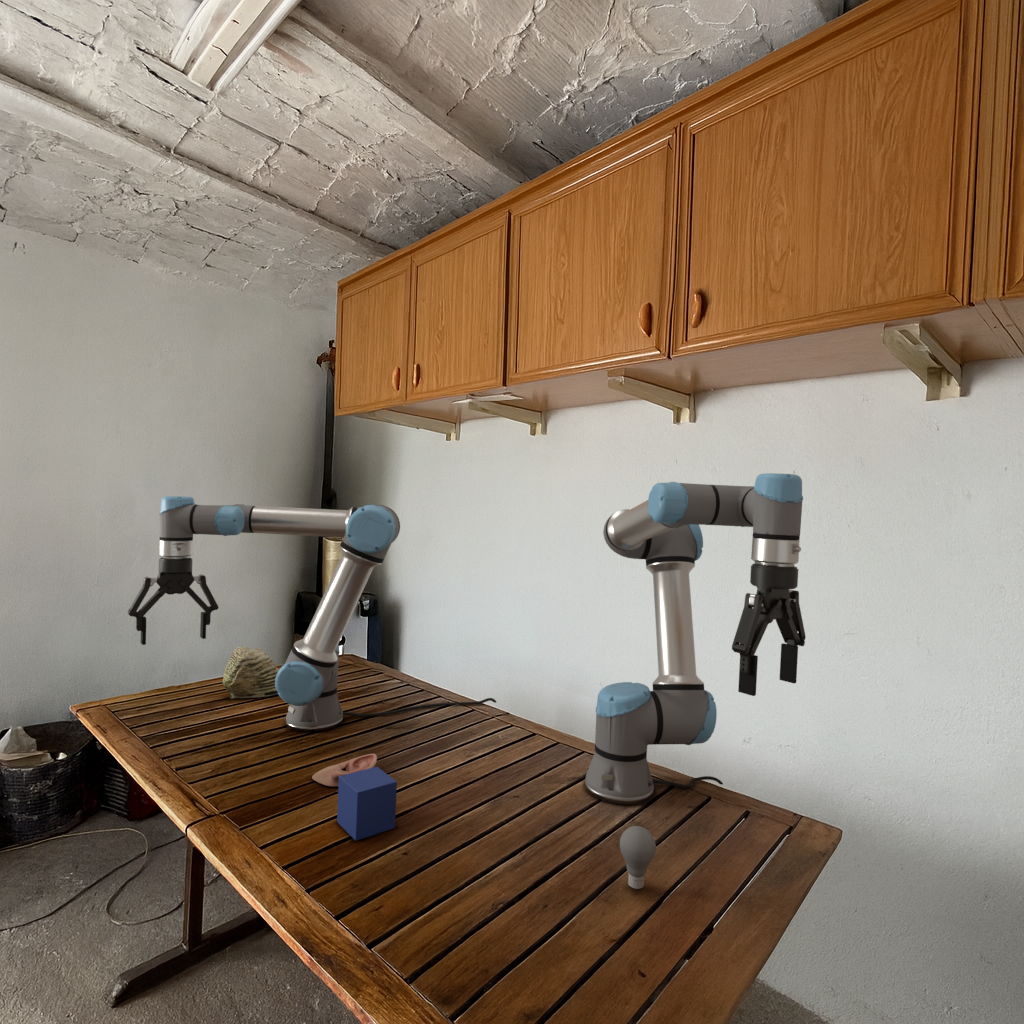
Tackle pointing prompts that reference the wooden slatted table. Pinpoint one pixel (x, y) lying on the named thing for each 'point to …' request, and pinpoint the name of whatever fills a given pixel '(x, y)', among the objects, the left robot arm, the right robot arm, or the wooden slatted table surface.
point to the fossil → (250, 674)
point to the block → (366, 803)
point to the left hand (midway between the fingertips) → (173, 640)
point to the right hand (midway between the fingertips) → (768, 687)
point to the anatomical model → (344, 769)
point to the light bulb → (637, 853)
